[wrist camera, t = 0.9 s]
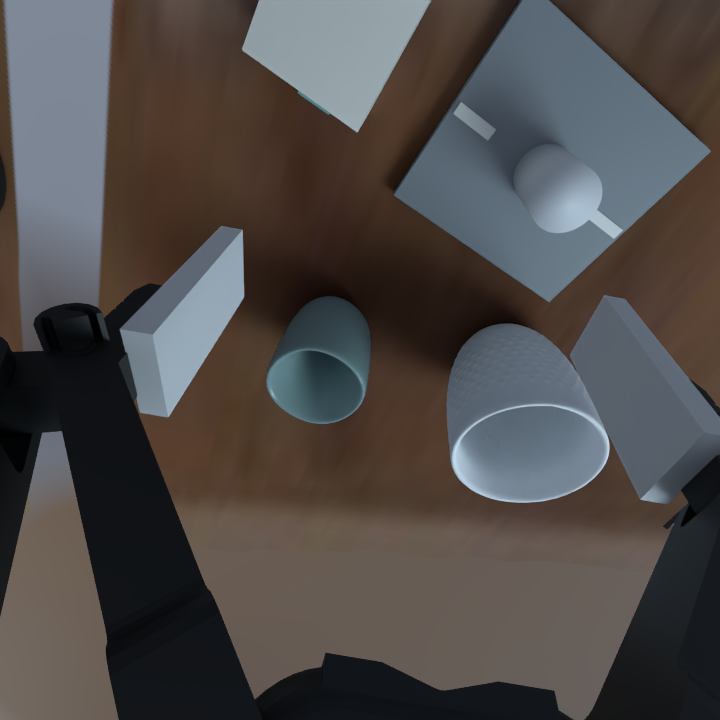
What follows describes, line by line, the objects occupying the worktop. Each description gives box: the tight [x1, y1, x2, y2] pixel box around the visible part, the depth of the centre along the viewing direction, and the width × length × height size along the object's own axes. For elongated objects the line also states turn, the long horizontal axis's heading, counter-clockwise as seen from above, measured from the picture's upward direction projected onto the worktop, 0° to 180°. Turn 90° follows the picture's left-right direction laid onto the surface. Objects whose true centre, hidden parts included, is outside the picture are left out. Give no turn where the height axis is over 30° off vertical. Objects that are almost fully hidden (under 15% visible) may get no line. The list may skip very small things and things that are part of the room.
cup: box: [266, 296, 372, 424], centre depth 37 cm, size 8×8×10 cm
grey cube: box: [242, 0, 431, 132], centre depth 24 cm, size 7×10×8 cm
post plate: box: [394, 0, 711, 302], centre depth 28 cm, size 16×14×7 cm
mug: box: [446, 323, 609, 502], centre depth 37 cm, size 15×11×13 cm
